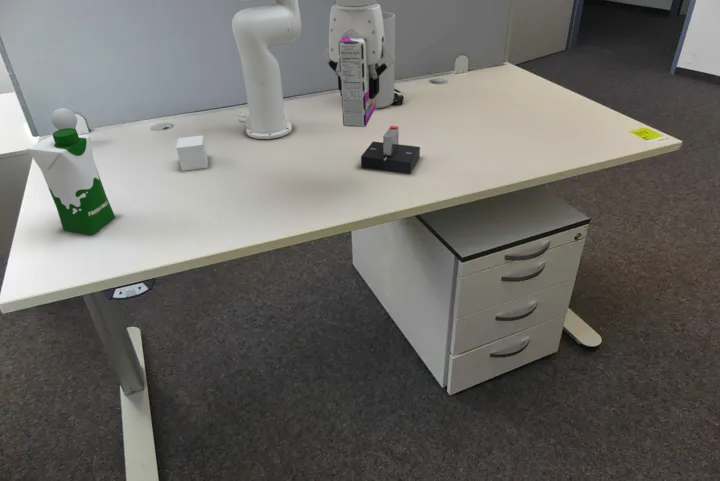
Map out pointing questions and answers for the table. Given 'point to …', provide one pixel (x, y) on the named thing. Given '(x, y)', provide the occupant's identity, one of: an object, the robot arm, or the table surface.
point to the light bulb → (64, 119)
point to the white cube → (192, 153)
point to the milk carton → (73, 181)
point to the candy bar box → (355, 82)
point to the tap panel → (390, 158)
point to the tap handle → (390, 141)
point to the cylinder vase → (387, 76)
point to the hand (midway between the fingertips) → (358, 94)
